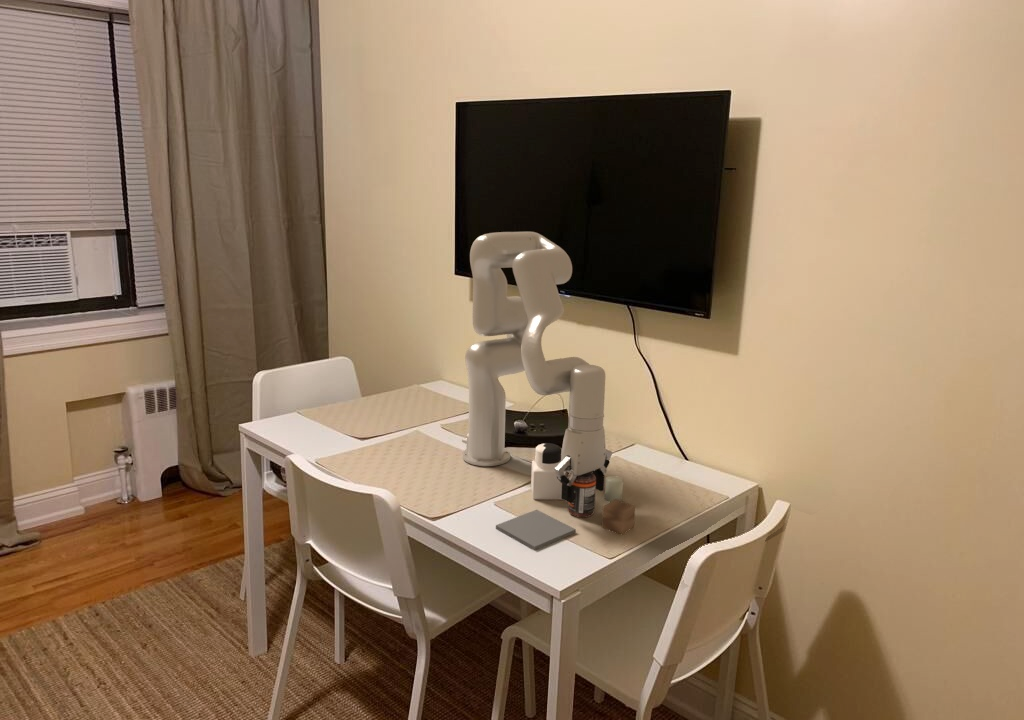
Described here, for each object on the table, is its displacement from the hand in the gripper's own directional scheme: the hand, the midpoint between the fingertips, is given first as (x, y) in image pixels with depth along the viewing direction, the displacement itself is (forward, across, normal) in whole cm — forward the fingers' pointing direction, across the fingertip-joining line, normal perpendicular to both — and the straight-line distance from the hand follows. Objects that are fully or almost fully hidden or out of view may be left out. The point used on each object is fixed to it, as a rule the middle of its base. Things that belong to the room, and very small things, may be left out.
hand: (582, 494), depth 168 cm
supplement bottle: (+5, 0, 0) cm, 5 cm away
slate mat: (+4, +14, 0) cm, 15 cm away
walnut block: (+5, -1, +10) cm, 11 cm away
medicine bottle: (+4, -1, -12) cm, 13 cm away
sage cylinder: (+4, -11, 0) cm, 12 cm away
